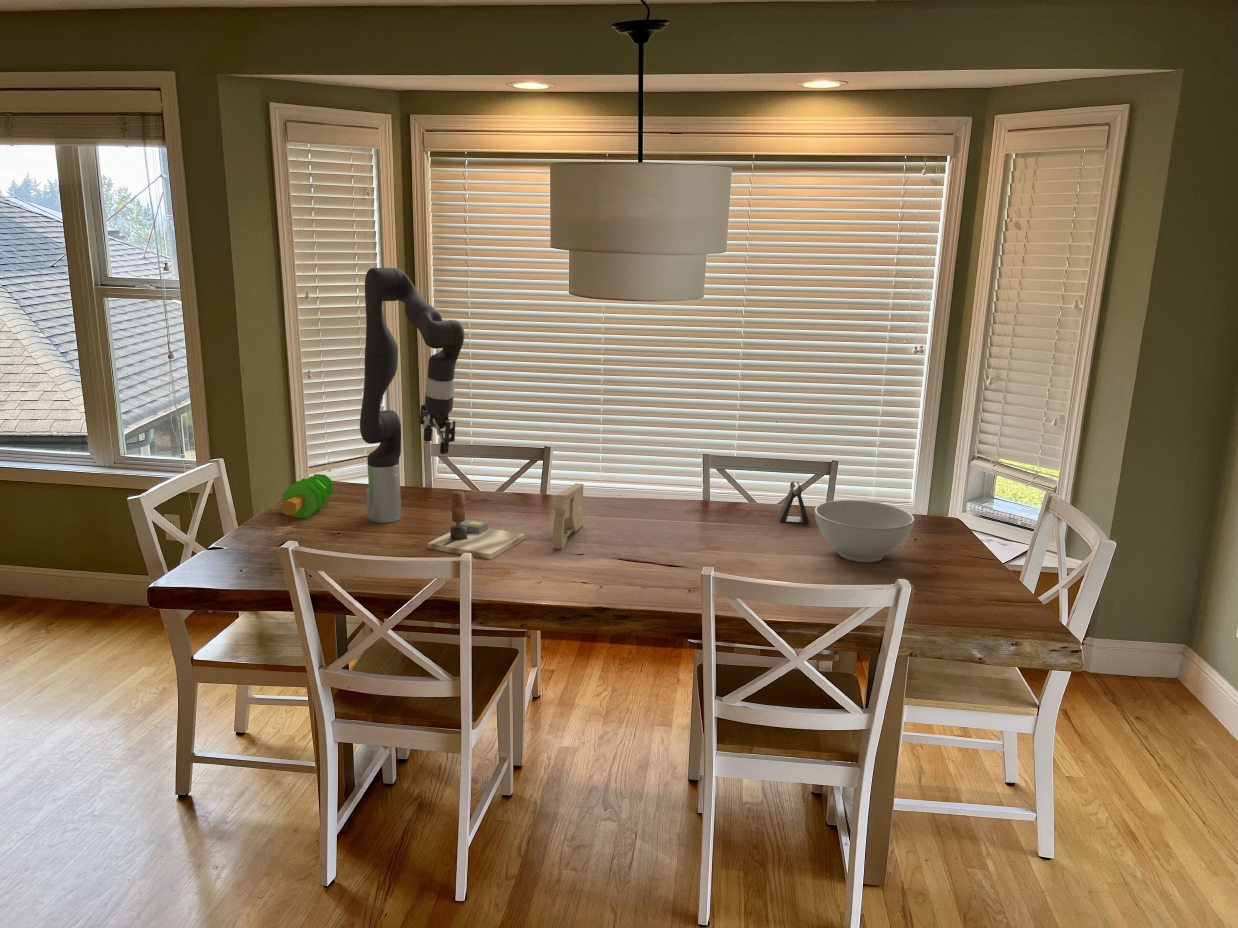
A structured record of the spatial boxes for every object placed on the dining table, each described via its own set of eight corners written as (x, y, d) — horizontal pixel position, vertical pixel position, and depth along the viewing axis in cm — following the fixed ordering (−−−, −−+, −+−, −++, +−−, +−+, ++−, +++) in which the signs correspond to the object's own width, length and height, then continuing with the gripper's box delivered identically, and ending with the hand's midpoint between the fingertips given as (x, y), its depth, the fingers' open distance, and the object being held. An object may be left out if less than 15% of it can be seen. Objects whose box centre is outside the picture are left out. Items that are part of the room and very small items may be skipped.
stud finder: (458, 530, 259) (458, 523, 258) (467, 525, 263) (467, 518, 263) (479, 533, 256) (479, 526, 256) (488, 529, 261) (488, 522, 260)
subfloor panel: (427, 548, 248) (427, 542, 248) (465, 529, 265) (465, 524, 265) (490, 559, 241) (490, 553, 240) (524, 539, 258) (524, 533, 257)
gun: (562, 550, 248) (563, 497, 246) (550, 549, 249) (552, 496, 247) (583, 532, 272) (584, 483, 270) (572, 531, 273) (574, 482, 270)
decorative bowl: (825, 534, 268) (828, 495, 266) (918, 549, 257) (922, 508, 254) (799, 560, 245) (802, 518, 242) (900, 578, 233) (904, 534, 231)
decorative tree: (278, 484, 264) (320, 456, 292) (266, 517, 267) (310, 487, 296) (313, 499, 264) (352, 471, 292) (302, 532, 267) (342, 501, 296)
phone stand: (807, 518, 284) (809, 481, 281) (809, 523, 278) (811, 486, 275) (778, 516, 285) (780, 480, 282) (779, 522, 279) (782, 485, 276)
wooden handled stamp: (447, 538, 252) (446, 493, 249) (456, 533, 256) (455, 489, 253) (461, 540, 250) (460, 495, 247) (470, 536, 254) (469, 491, 251)
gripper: (413, 385, 244) (410, 439, 250) (441, 404, 235) (437, 460, 241) (437, 382, 248) (433, 435, 255) (466, 400, 239) (461, 455, 246)
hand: (435, 447), depth 248 cm, fingers open, 8 cm apart
